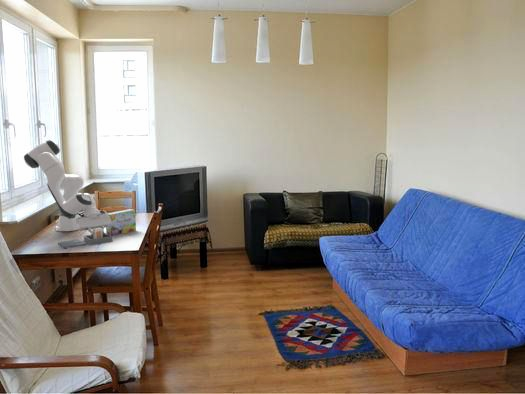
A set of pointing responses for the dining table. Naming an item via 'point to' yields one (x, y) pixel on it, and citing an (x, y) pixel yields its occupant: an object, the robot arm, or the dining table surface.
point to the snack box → (122, 222)
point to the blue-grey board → (71, 243)
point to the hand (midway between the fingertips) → (97, 233)
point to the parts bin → (91, 241)
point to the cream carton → (97, 233)
